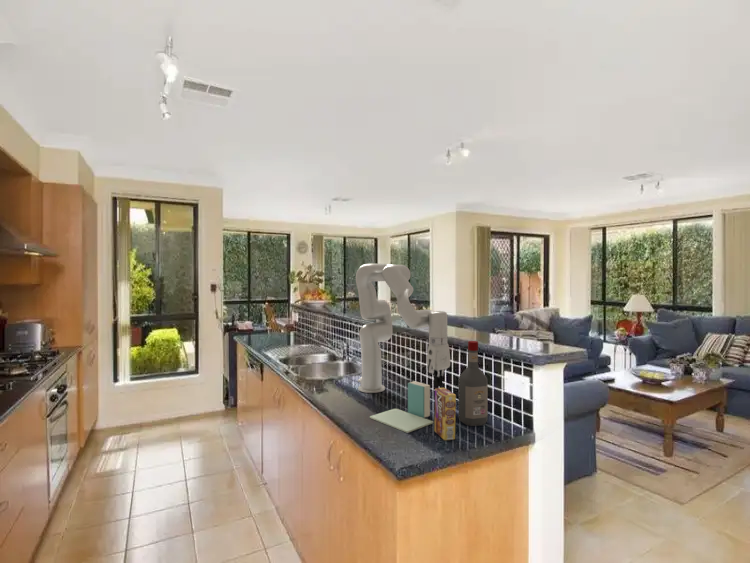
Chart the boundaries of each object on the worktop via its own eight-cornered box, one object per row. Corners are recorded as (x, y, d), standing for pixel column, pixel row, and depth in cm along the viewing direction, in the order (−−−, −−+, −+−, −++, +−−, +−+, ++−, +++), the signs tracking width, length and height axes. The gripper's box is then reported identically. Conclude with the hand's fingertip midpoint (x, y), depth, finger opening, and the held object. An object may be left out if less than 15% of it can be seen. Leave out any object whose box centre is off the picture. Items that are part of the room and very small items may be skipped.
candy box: (456, 439, 137) (456, 394, 137) (444, 441, 136) (444, 395, 136) (445, 429, 146) (445, 387, 145) (434, 431, 145) (434, 388, 144)
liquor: (490, 424, 151) (490, 343, 150) (468, 427, 148) (468, 344, 147) (477, 416, 159) (477, 339, 159) (456, 418, 157) (456, 340, 156)
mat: (369, 418, 158) (369, 416, 158) (395, 409, 167) (395, 408, 167) (407, 433, 143) (407, 431, 143) (433, 423, 152) (433, 421, 152)
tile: (407, 412, 163) (407, 382, 163) (414, 410, 166) (414, 381, 166) (423, 418, 158) (423, 387, 157) (429, 415, 160) (429, 385, 160)
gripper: (433, 344, 161) (433, 391, 162) (456, 340, 171) (456, 384, 172) (419, 342, 167) (419, 387, 167) (442, 338, 177) (442, 380, 177)
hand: (438, 385), depth 170 cm, fingers closed
